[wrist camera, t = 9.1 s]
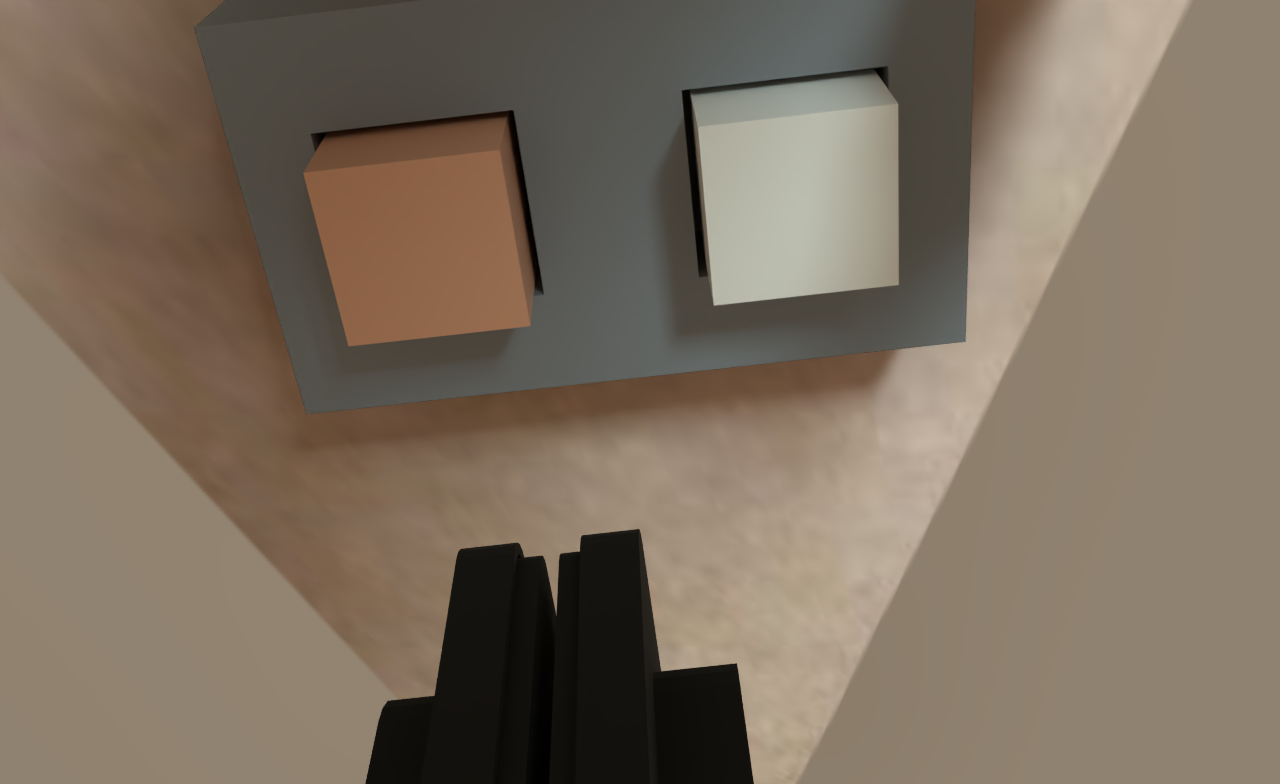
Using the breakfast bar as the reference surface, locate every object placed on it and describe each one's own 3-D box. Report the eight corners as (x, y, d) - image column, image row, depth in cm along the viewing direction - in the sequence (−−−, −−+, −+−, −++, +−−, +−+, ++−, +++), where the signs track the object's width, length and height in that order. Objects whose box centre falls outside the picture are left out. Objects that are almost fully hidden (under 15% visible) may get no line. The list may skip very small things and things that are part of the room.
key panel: (235, -9, 42) (193, 27, 38) (937, -94, 41) (977, -67, 37) (332, 349, 49) (306, 414, 45) (932, 282, 48) (965, 341, 44)
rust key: (333, 121, 41) (303, 172, 37) (510, 100, 41) (499, 150, 37) (372, 281, 44) (348, 346, 40) (537, 262, 44) (530, 325, 40)
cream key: (687, 79, 41) (698, 126, 37) (866, 58, 41) (898, 103, 36) (702, 243, 44) (713, 305, 40) (869, 225, 44) (898, 284, 39)
